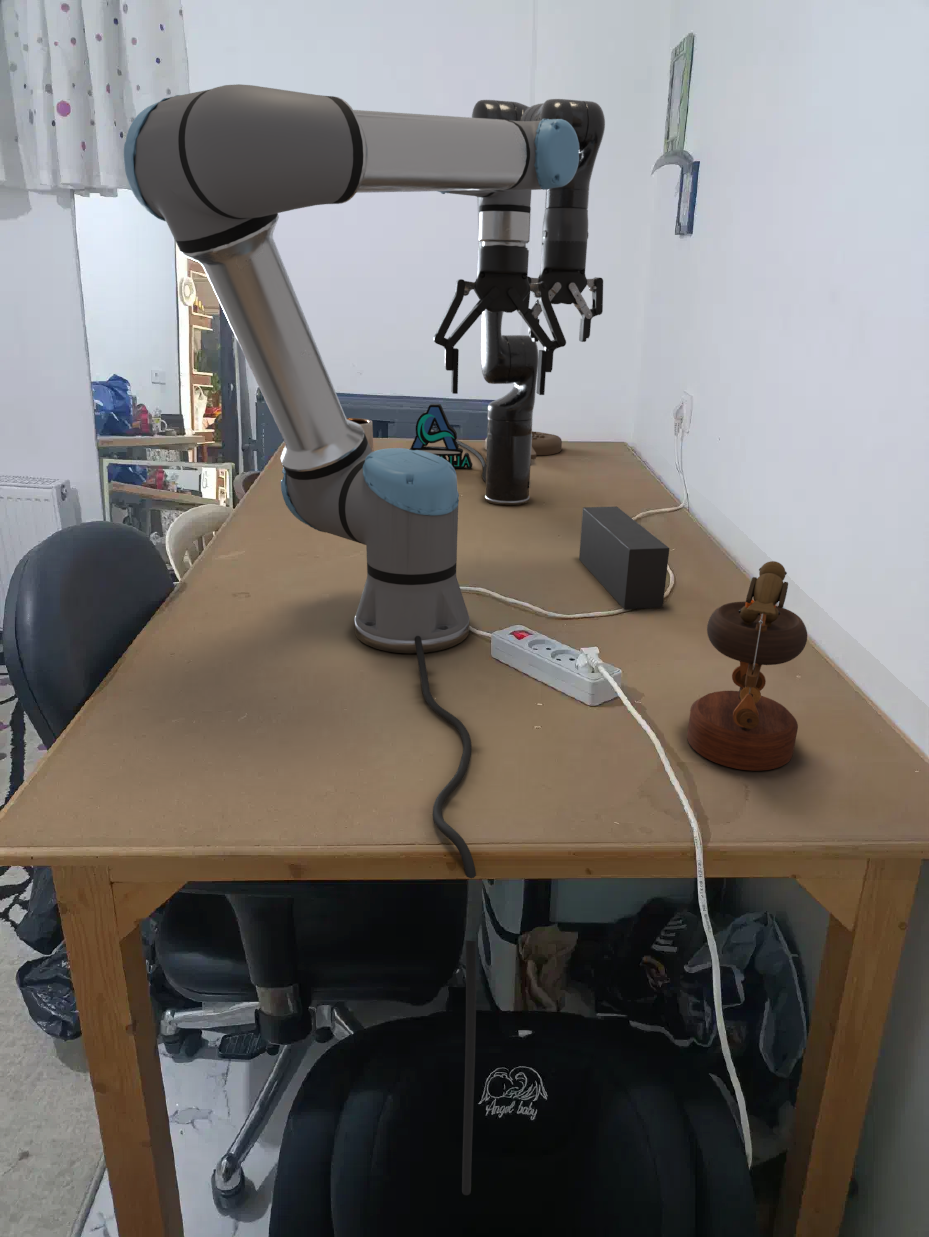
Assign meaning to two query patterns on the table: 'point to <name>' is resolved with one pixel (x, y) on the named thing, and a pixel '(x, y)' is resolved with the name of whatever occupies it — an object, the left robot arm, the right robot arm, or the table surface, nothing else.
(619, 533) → the box
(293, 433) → the left robot arm
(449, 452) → the decorative sign
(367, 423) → the planter
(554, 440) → the ice cream bar
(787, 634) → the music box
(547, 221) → the right robot arm
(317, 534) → the table surface
